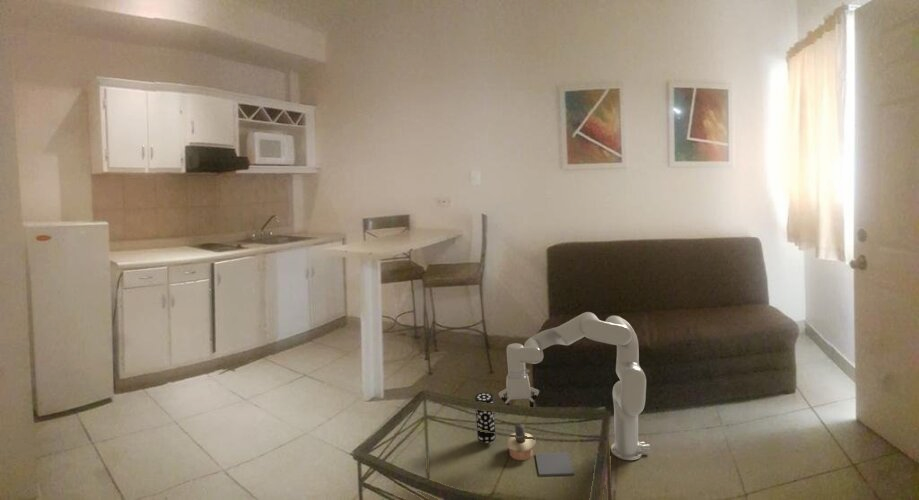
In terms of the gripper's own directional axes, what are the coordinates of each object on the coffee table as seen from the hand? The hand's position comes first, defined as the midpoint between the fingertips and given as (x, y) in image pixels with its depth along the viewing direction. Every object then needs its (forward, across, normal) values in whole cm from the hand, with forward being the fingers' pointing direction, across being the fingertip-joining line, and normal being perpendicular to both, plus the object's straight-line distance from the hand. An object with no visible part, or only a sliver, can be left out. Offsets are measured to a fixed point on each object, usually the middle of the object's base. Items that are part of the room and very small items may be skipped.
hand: (520, 410), depth 193 cm
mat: (+21, -12, +8) cm, 25 cm away
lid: (+15, +1, 0) cm, 15 cm away
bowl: (+20, +1, 0) cm, 20 cm away
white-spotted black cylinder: (+18, +16, -9) cm, 25 cm away
